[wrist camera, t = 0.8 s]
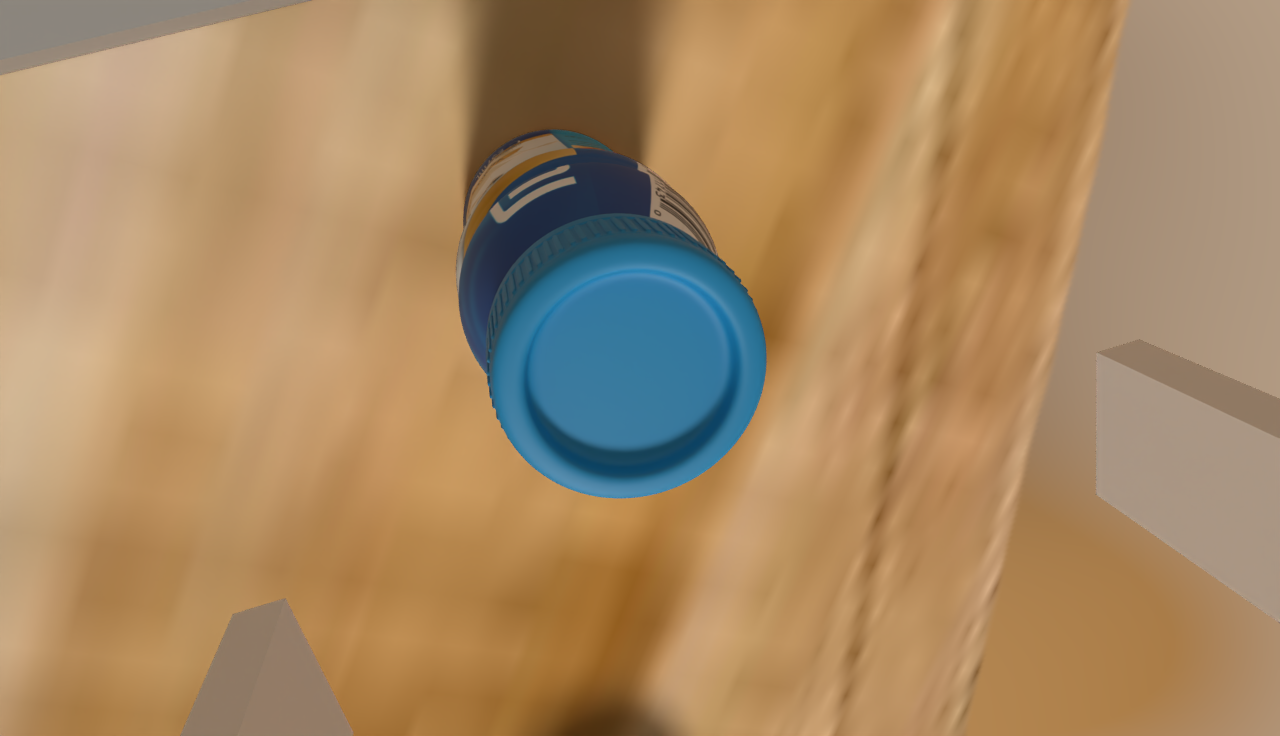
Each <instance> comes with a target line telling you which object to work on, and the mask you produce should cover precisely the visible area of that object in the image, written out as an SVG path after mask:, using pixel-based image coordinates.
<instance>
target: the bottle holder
mask: <svg viewBox="0 0 1280 736" xmlns="http://www.w3.org/2000/svg"><path fill="white" fill-rule="evenodd" d="M306 1H310V0H0V75H2V74H7V73H11V72H15V71H19V70H23V69H27V68H31V67H36V66H40V65H44V64H48V63H52V62H56V61H61V60H65V59H69V58H73V57H77V56H81V55H86V54H90V53H94V52H98V51H102V50H106V49H111V48H115V47H119V46H123V45H127V44H131V43H135V42H140V41H144V40H148V39H152V38H156V37H160V36H165V35H169V34H173V33H177V32H181V31H185V30H190V29H194V28H198V27H202V26H206V25H210V24H215V23H219V22H223V21H227V20H231V19H235V18H240V17H244V16H248V15H252V14H256V13H260V12H264V11H269V10H273V9H277V8H281V7H285V6H289V5H294V4H298V3H302V2H306Z"/></svg>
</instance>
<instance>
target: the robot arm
mask: <svg viewBox="0 0 1280 736" xmlns="http://www.w3.org/2000/svg"><path fill="white" fill-rule="evenodd" d="M1096 392H1097V393H1096V394H1097V395H1096V398H1097V399H1096V404H1097V405H1096V412H1097V413H1096V495H1098V496H1099V497H1100V498H1102V499H1103V500H1105V501H1106V502H1108V503H1109V504H1110V505H1112V506H1113V507H1115V508H1116V509H1118V510H1119V511H1121V512H1122V513H1123V514H1125V515H1126V516H1128V517H1129V518H1130V519H1132V520H1133V521H1135V522H1136V523H1138V524H1139V525H1140V526H1142V527H1143V528H1145V529H1146V530H1148V531H1149V532H1151V533H1152V534H1153V535H1155V536H1156V537H1158V538H1159V539H1160V540H1162V541H1163V542H1165V543H1166V544H1168V545H1169V546H1170V547H1172V548H1174V549H1175V550H1176V551H1177V552H1179V553H1180V554H1182V555H1183V556H1185V557H1186V558H1188V559H1189V560H1190V561H1192V562H1193V563H1195V564H1196V565H1197V566H1199V567H1201V568H1202V569H1203V570H1205V571H1206V572H1208V573H1209V574H1210V575H1212V576H1213V577H1215V578H1216V579H1217V580H1219V581H1221V582H1222V583H1223V584H1225V585H1226V586H1227V587H1229V588H1230V589H1232V590H1233V591H1235V592H1236V593H1238V594H1239V595H1240V596H1242V597H1243V598H1245V599H1246V600H1247V601H1249V602H1250V603H1252V604H1253V605H1255V606H1256V607H1257V608H1259V609H1260V610H1262V611H1263V612H1265V613H1266V614H1267V615H1269V616H1270V617H1272V618H1273V619H1274V620H1276V621H1278V622H1279V623H1280V399H1279V398H1277V397H1274V396H1272V395H1269V394H1267V393H1265V392H1262V391H1260V390H1258V389H1255V388H1253V387H1251V386H1248V385H1246V384H1243V383H1241V382H1239V381H1236V380H1234V379H1232V378H1229V377H1227V376H1224V375H1222V374H1220V373H1217V372H1215V371H1213V370H1210V369H1208V368H1206V367H1203V366H1201V365H1199V364H1196V363H1193V362H1191V361H1189V360H1187V359H1184V358H1182V357H1180V356H1177V355H1175V354H1173V353H1170V352H1168V351H1165V350H1163V349H1161V348H1158V347H1156V346H1154V345H1151V344H1149V343H1147V342H1144V341H1142V340H1136V341H1133V342H1129V343H1126V344H1123V345H1119V346H1116V347H1113V348H1110V349H1106V350H1103V351H1100V352H1097V391H1096ZM180 736H353V731H352V729H351V727H350V725H349V723H348V721H347V719H346V717H345V715H344V713H343V711H342V709H341V707H340V705H339V703H338V701H337V699H336V697H335V695H334V693H333V691H332V689H331V688H330V686H329V684H328V682H327V680H326V678H325V676H324V674H323V672H322V670H321V668H320V666H319V664H318V662H317V660H316V658H315V656H314V654H313V652H312V650H311V648H310V646H309V644H308V642H307V640H306V638H305V636H304V634H303V632H302V630H301V628H300V626H299V624H298V622H297V620H296V618H295V616H294V614H293V612H292V610H291V608H290V606H289V604H288V602H287V600H286V598H285V599H281V600H278V601H275V602H271V603H268V604H265V605H262V606H258V607H255V608H252V609H248V610H245V611H242V612H238V613H235V614H233V615H232V618H231V620H230V622H229V624H228V627H227V629H226V631H225V634H224V636H223V638H222V641H221V643H220V645H219V648H218V650H217V652H216V654H215V657H214V659H213V661H212V664H211V666H210V668H209V671H208V673H207V675H206V678H205V680H204V682H203V684H202V687H201V689H200V691H199V694H198V696H197V698H196V701H195V703H194V705H193V708H192V710H191V712H190V714H189V717H188V719H187V721H186V724H185V726H184V728H183V731H182V733H181V735H180Z"/></svg>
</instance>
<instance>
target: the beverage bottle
mask: <svg viewBox="0 0 1280 736" xmlns="http://www.w3.org/2000/svg"><path fill="white" fill-rule="evenodd" d="M463 226H464V229H463V232H462V235H461V239H460V242H459V247H458V252H457V260H456V283H457V291H458V297H459V310H460V317H461V322H462V326H463V330H464V333H465V336H466V339H467V341H468V344H469V346H470V348H471V350H472V352H473V354H474V356H475V358H476V360H477V361H478V363H479V365H480V366H481V367H482V369H483V370H484V372H485V373H486V374H487V380H488V386H489V392H490V398H491V399H492V406H493V408H495V409H496V416H497V419H498V420H500V423H501V428H502V429H504V431H505V433H506V435H507V437H508V439H509V440H510V441H511V443H512V444H513V446H514V447H515V448H516V450H517V451H518V452H519V453H520V455H521V456H522V457H523V458H524V459H525V460H526V461H527V462H528V463H529V464H530V465H531V466H532V467H534V468H535V469H536V470H537V471H539V472H540V473H541V474H543V475H544V476H546V477H547V478H549V479H550V480H552V481H554V482H556V483H558V484H560V485H562V486H564V487H566V488H568V489H571V490H574V491H577V492H580V493H583V494H587V495H592V496H597V497H605V498H635V497H643V496H648V495H653V494H657V493H661V492H664V491H667V490H670V489H673V488H675V487H678V486H680V485H682V484H684V483H686V482H688V481H690V480H692V479H694V478H695V477H697V476H699V475H700V474H702V473H703V472H705V471H706V470H708V469H709V468H710V467H712V466H713V465H714V464H715V463H717V462H718V461H719V460H720V459H721V458H722V457H723V456H724V455H725V454H726V453H727V452H728V451H729V450H730V449H731V448H732V447H733V446H734V444H735V443H736V442H737V441H738V439H739V438H740V437H741V435H742V434H743V432H744V431H745V429H746V428H747V426H748V424H749V422H750V421H751V419H752V417H753V415H754V413H755V410H756V408H757V405H758V403H759V400H760V397H761V394H762V390H763V385H764V380H765V373H766V343H765V337H764V332H763V328H762V324H761V321H760V318H759V315H758V313H757V309H756V308H755V306H754V304H753V302H752V301H753V299H752V298H751V297H750V296H749V295H748V293H747V292H748V290H747V289H746V288H745V287H744V286H743V285H742V284H741V283H740V282H741V279H740V278H738V277H737V276H736V275H735V274H734V271H733V270H732V269H730V268H729V267H728V266H727V265H726V263H725V262H724V261H723V260H721V259H720V258H719V257H718V254H717V251H716V248H715V245H714V242H713V240H712V238H711V236H710V233H709V232H708V230H707V228H706V226H705V224H704V223H703V221H702V220H701V218H700V217H699V215H698V214H697V213H696V211H695V210H694V209H693V208H692V206H691V205H690V204H689V203H688V202H687V201H686V200H685V199H684V198H683V197H682V196H681V195H680V194H678V193H677V192H676V191H675V190H674V189H672V188H671V186H670V185H669V184H668V183H667V182H665V181H664V180H663V179H662V178H661V177H660V176H659V175H657V174H656V173H655V172H653V171H652V170H650V169H649V168H648V167H646V166H644V165H643V164H641V163H639V162H637V161H635V160H633V159H631V158H629V157H626V156H623V155H621V154H618V153H614V152H613V151H612V150H610V149H609V148H608V147H606V146H605V145H603V144H602V143H600V142H598V141H597V140H595V139H593V138H591V137H588V136H586V135H583V134H580V133H577V132H572V131H567V130H554V129H552V130H540V131H534V132H530V133H527V134H524V135H521V136H519V137H516V138H514V139H512V140H510V141H508V142H507V143H505V144H504V145H502V146H501V147H499V148H498V149H497V150H496V151H494V152H493V153H492V154H491V155H490V156H489V157H488V158H487V159H486V160H485V162H484V163H483V164H482V165H481V167H480V168H479V170H478V171H477V173H476V174H475V176H474V178H473V180H472V182H471V185H470V187H469V190H468V193H467V196H466V201H465V206H464V217H463Z"/></svg>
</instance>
